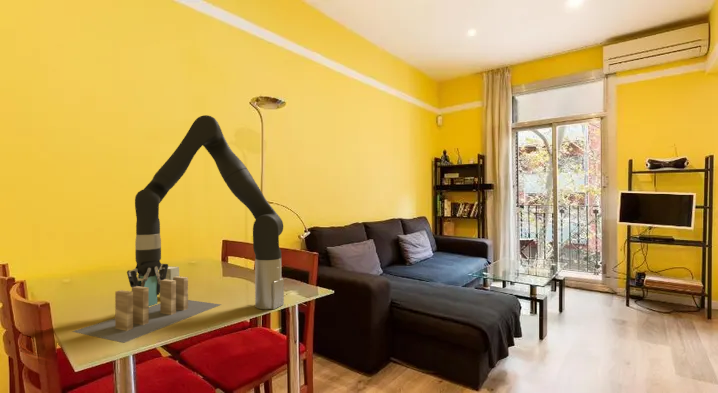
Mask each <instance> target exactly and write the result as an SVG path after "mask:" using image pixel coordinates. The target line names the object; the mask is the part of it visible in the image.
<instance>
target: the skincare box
mask: <svg viewBox="0 0 718 393" xmlns="http://www.w3.org/2000/svg"><path fill="white" fill-rule="evenodd" d="M159 270H160V269H159ZM159 270H158V271H159ZM162 275H163V274H162ZM176 276H180V266H169V265H168V269H167V275H166V279H167V280H173V277H176Z"/></svg>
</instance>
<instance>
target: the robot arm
mask: <svg viewBox="0 0 718 393" xmlns="http://www.w3.org/2000/svg"><path fill="white" fill-rule="evenodd" d="M202 146H203V147H204V149H205V150H206V151H207V152H208V154H209V155H210V157H211V158H212V159H213V160H214V163H215V165H216V168H217V170H218V173H219V174H220V176H221V177H222V179H223V182H225V184H226V186H227V187H228V188H229V190H230V192H231V193H232V194H233V195H234V196H235V197H236V198H237V200H239V201H240V203H242V204H243V205H245V207H246V208H247V209H248V210H249V211H250V213H251V215H252V216H253V217H254V219H255V220H254V222H253V226H252V246H253V249H252V250H253V252H254V257H255V259H254V260H255V262H254V263H255V264H254V265H255V267H254V271H255V272H254V275H255V276H254V278H255V280H254V284H255V285H254V288H255V289H254V290H255V291H254V293H255V294H254V296H255V298H254V299H255V300H254V302H255V304H254V306H255V308H257V309H260V310H275V309H277V308H279V307H282V306H284V305H285V303H284V302H285V298H284V297H285V295H284V294H285V288H284V286H285V284H284V282H285V279H284V278H283V277H282V249H281V248H280V242H279V241H280V238H279V237H280V235H281V234H282V233H283V231H284V222H283V220H282V218H281V217H280V216H279V214H278V213H277V211H275V209H274V208H273V207H272V206H271V204H270V203H269V202H268V201H267V199H266V198H265V196H264V194H263V193H262V190H261V188H260V187H259V186H258V184H257V182H256V180H255V178H254V177H253V175H252V174H251V173H250V170H249V169H248V168H247V166H246V165H245V164H244V163H243V161H242V160H241V159H240V158H239V157H238V155H236V154H235V152H234V151H233V150H232V149H231V147H230V146H229V143H228V142H227V140H226V138H225V136H224V134H223V131H222V129H221V126H220V124H219V122H218V120H217V119H216V118H214V117H213V116H212V115H208V114H207V115H201V116H198V117H197V118H196V119H195V120H194V121H193V123H192V124H191V126H190V128H189V130H187V133H186V134H185V135H184V137H183V138H182V140H181V141H180V143H179V145H178V146H177V147H176V149H175V150H174V152H173V153H172V154H171V155H170V156H169V157H168V159H167V160H166V161H165V163H163V165H161V167H160V168H159V169H158V170H157V171H156V172H155V174H154V175H153V177H152V179H151V181H150V182H149V183H148V184H147V185H146V186H145V187H144V188H142V189H141V190H139V191H138V192H137V193H136V195H135V197H134V209H135V216H136V223H135V224H136V226H135V228H136V230H135V232H136V233H135V234H136V236H135V247H134V248H135V263H136V266H135V268H134V269H131V270H130V269H128V270H127V272H126V274H127V277H128V278H127V279H128V282H129V286H130V288H132V287H136V286H140V287H144V285H145V282H146V281H147V279H148V278H149V277H151V276H156V280H157V296H160V280H164V279H166V275H167V269H168V266H169V263H161V260H162V238H161V226H160V225H161V222H160V221H161V220H160V217H159V216H160V214H159V212H160V211H159V210H160V209H159V208H160V207H159V206H160V204H161V203H162V201H163V200H164V198H166V195H167V194H168V193H169V192H170V190H172V188H173V187H174V186H176V184H177V183H178V182H179V181H180V179H181V178H182V177H183V176H184V174H185V173H186V172H187V170H188V168H189V166H190V164H191V163H192V160H193V159H194V157H195V156H196V154H197V152H199V150H200V148H202ZM159 269H160V270H159ZM162 274H163V275H162ZM140 276H144V278H143V279H141V278H140ZM140 281H141V284H140Z"/></svg>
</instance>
